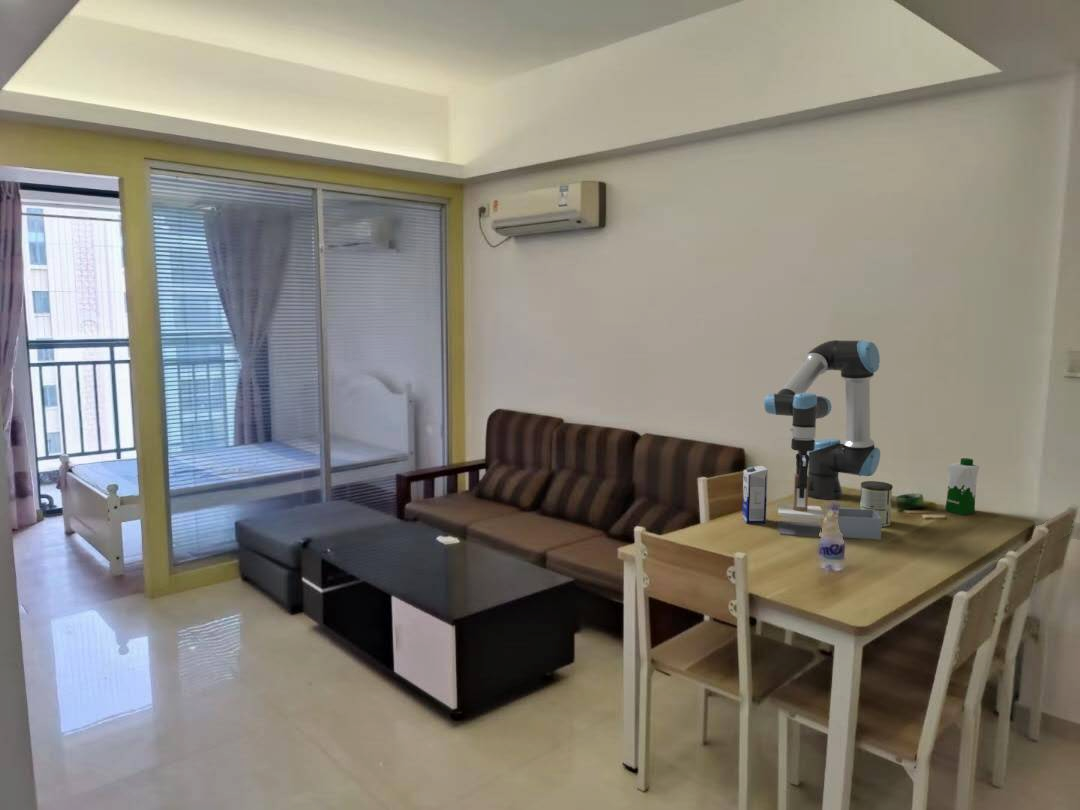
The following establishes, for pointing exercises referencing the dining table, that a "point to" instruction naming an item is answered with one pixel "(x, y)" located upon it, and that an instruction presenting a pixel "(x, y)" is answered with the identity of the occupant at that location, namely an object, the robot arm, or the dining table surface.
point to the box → (859, 523)
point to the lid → (800, 512)
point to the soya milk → (961, 487)
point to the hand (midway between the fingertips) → (800, 505)
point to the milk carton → (754, 495)
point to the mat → (798, 528)
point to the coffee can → (877, 499)
